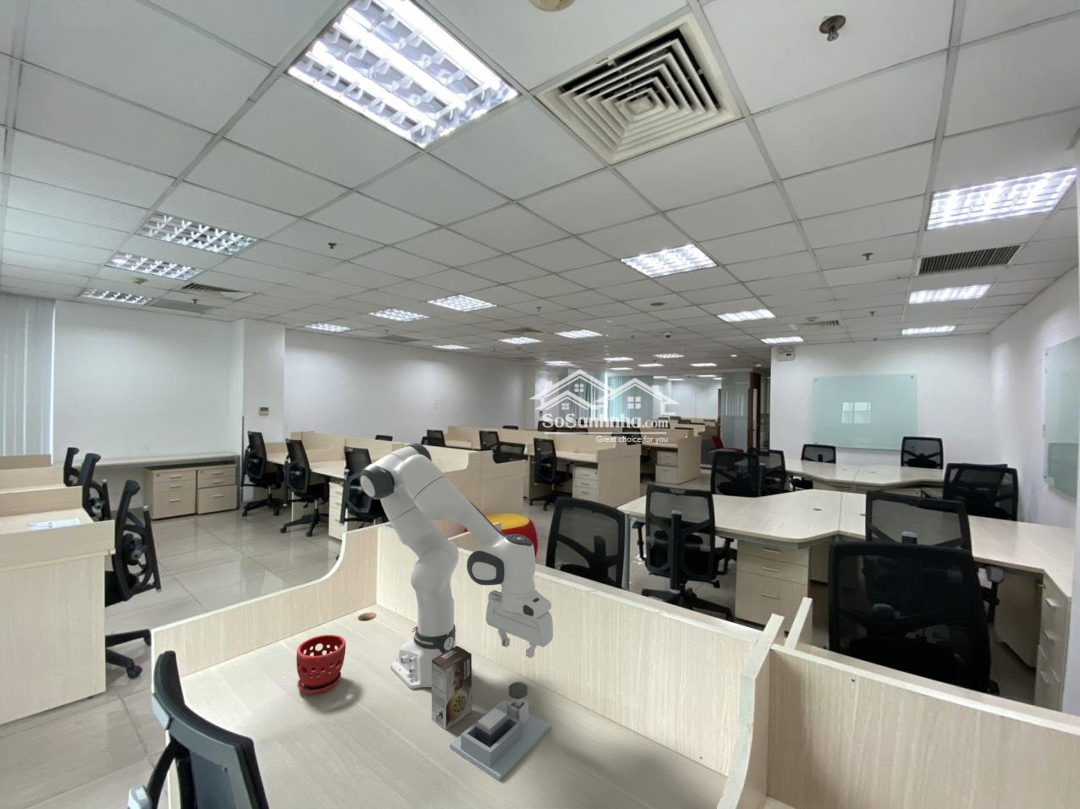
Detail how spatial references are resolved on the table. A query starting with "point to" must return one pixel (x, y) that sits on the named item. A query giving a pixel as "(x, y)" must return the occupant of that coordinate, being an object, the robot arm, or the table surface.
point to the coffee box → (451, 686)
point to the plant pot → (320, 664)
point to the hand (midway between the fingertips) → (517, 650)
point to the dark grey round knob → (518, 693)
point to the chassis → (502, 741)
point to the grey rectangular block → (492, 727)
